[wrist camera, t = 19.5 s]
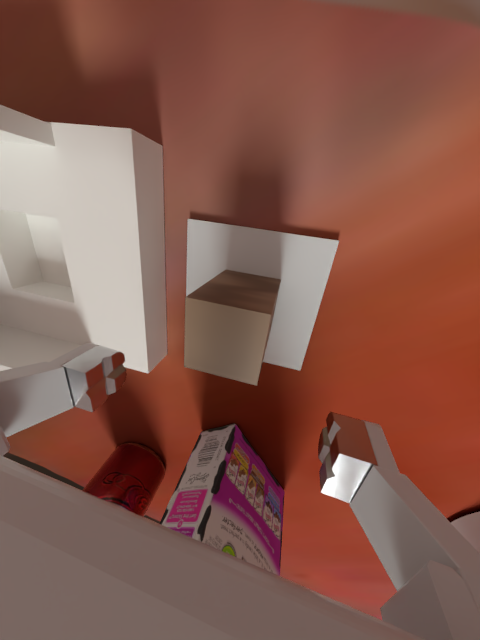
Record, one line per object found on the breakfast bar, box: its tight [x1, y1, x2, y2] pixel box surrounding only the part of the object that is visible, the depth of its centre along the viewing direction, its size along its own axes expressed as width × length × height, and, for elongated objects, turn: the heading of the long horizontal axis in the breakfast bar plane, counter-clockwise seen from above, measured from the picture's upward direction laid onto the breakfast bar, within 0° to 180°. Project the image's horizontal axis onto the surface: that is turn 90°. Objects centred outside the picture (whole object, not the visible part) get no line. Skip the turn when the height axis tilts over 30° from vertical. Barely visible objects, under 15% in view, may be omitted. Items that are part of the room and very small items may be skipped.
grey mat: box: [186, 219, 339, 371], centre depth 17 cm, size 10×10×1 cm
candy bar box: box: [160, 424, 284, 576], centre depth 18 cm, size 11×5×16 cm, turn 32°
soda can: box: [82, 443, 165, 517], centre depth 24 cm, size 7×7×12 cm
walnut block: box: [184, 270, 281, 386], centre depth 14 cm, size 4×4×6 cm
